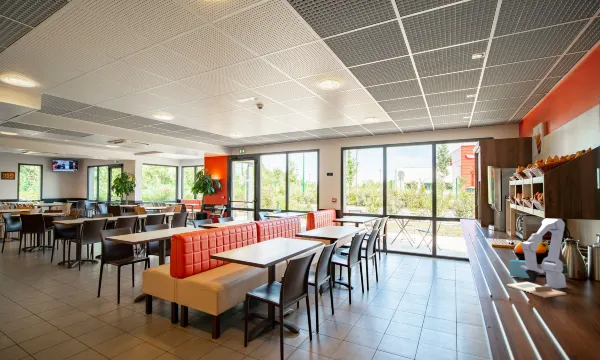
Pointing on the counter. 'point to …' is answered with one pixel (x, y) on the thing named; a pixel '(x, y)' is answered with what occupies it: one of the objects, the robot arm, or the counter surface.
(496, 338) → the counter surface
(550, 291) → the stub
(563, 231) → the robot arm
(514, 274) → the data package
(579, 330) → the counter surface
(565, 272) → the beer bottle
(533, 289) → the board
